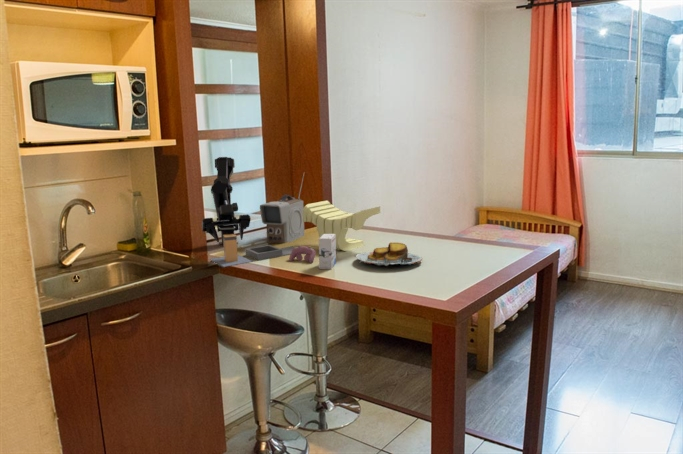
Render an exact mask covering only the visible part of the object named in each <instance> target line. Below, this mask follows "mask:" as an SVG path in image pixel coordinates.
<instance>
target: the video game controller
mask: <svg viewBox="0 0 683 454" xmlns="http://www.w3.org/2000/svg"><path fill="white" fill-rule="evenodd" d="M294 247H295V248H294V249H293V250H292V252H291V255H289V259H288V261H289V262H293V261H294V260H295V259H296V260H297V261H301V260H304V261H307V262H308V261H309V264H312V263H314V260H315V257H316V255H317V254H316V250H315V249H313V248H312V247H309V246H305V245H301V246H294ZM303 255H304V257H303Z"/></svg>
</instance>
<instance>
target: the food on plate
mask: <svg viewBox="0 0 683 454" xmlns="http://www.w3.org/2000/svg"><path fill="white" fill-rule="evenodd" d="M408 252H409V249H408V247H407V245H406V244H405V243H403V242H389V243H388V246H386V247H385V246H384V247H376V248H374V249H373V251H368V252H367V251H366V252H362V253H358V254H356V255H355V258H356V259H357V260H359V264H360V263H361V262H363V263H366V264H374V265H376V266H385V267H387V266H389V265H399V264H400V266H406V265H413V264H419V263H421V262H422V261H423V257H422V256H420V255H418V254H414V253H408Z"/></svg>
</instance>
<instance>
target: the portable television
mask: <svg viewBox="0 0 683 454" xmlns="http://www.w3.org/2000/svg"><path fill="white" fill-rule="evenodd" d="M304 177H305V172H303V176H302V179H301V184H300V188H299V193H298V197H297V198H296V197H293V196H291V195H290V194H283V195H282V196H281V198H280V199H279V200H277V201H269V202H266V203H263V204H260V205H259V212H260V217H261V222H262V223H263V224H264V225H266V235H267V236H266V237H267V238H266V239H267V241H266V242H267V244H269V243H275V244H276V243H277V244H287V243H291V242H294V241H295V240H296V241H297V240H298V239H300V238H302V237H305V236H304V235H305V222H303V209H304V207H305V206H304V200H302V198H300V196H301V191H302V187H303V181H304Z"/></svg>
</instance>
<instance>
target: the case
mask: <svg viewBox="0 0 683 454" xmlns="http://www.w3.org/2000/svg"><path fill="white" fill-rule="evenodd" d="M295 247H296V246H286V247H279V248H278V247H276V246H273V245H271V244H267V245H260V246H256V247H255V246H253V247H249V248H248V247H247V248H245V256H247V257H249V258H251V259H253V260H255V261H263V260H269V259H275V258H279V257H286V256H290V255H291V252H292V250H293V249H294V248H295Z"/></svg>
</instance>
